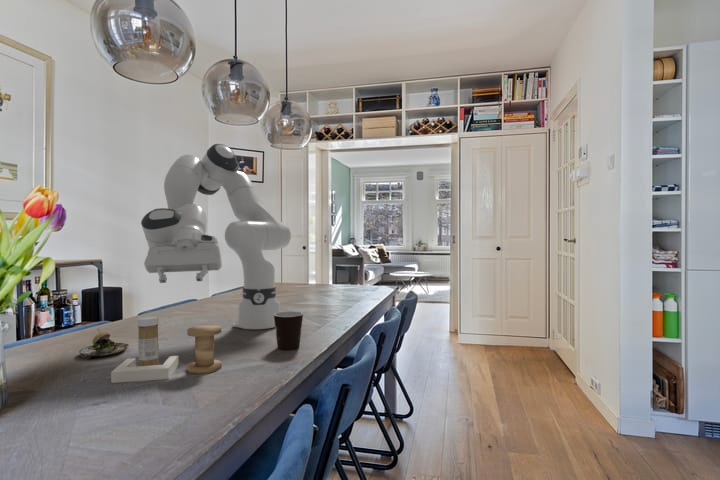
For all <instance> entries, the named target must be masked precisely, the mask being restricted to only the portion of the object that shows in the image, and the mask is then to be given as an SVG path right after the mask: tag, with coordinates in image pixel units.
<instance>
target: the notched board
mask: <svg viewBox="0 0 720 480" xmlns="http://www.w3.org/2000/svg"><path fill="white" fill-rule="evenodd" d="M178 367H179V355H170V356H169V357H168V358H167V359H166V360H165V362H164V363H163V364H158V365H152V366H139V365H137V358H135V357H133V358H126V359H125V360H124V361H123V362H121V363H120V364H119V365H118V366H116V368H114V369H113V370H112V371H111V372H110V375H111V376H110V379H111V380H110V381H111V382H110V383H111V384H118V383H131V382H133V383H134V382H145V381H146V382H147V381H157V380H159V381H160V380H169V379H170V378H171V376H172V375H173V373H174V372H176V369H177V368H178Z"/></svg>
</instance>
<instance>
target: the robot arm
mask: <svg viewBox="0 0 720 480" xmlns="http://www.w3.org/2000/svg"><path fill="white" fill-rule="evenodd" d="M239 165H240V163H239V162H238V159H237V157H236V155H235V153H234V151H233V150H232V149H231V148H230V147H229V146H227V145H225V144H221V143H215V144H213V145H210V147H209V148H208V149H207V150H206V153H205V155H203V157H202V159H201V160H200V159H199V158H198V157H197V156H195V155H194V154H193V155H192V154H183V155H181V156H179V158H177V159H176V160H175V161H174V163H172V165H171V166H170V168H169V169H168V171H167V173H166V174H165V178H164V184H163V189H164V196H165V199H166V203H167V207H166V208H163V207H162V208H155V209H153V210H151V211H149V212H147V213H146V214H145V215H144V216H143V218H142V219H141V222H140V223H141V226H142V231H143V232H144V233H143V234H144V237H145V240H146V242H147V245H148V251H147V255H146V257H145V260H144V268H145V270H146V271H147V272H148V273H149V274H153V273H154V274H158V276H159V277H158V280H159V283H160V284H164V283H165V284H166V283H167V280H168V277H167V274H165V273H181V272H182V273H183V272H184V273H185V272H196V275H195V279H196V282H203V280H204V279H203V278H204V277H205V276H206V275H207V274H208V272H210V271H219V270H220V269H221V268H222V265H223V264H222V254H221V249H220V246H219V241H218V239H217V237H216V236H214V235H210V234H206V231H207V223H208V222H207V221H208V219H207V213H206V212H205V210H204V209H203V208H202V207H201V206H200V205H198V204H196V203H194V202H195V198H196V195H197V192H198V193H200V194H203V195H205V196H206V195H207V196H213V195H215V194H216V193H217V192H219V191H220V190H221V187H222V188H223V189H224V190H225V193H226V196H227V199H228V202H229V204H230V207H231V209H232V212H233V214H234V216H235V217H236V219H237V221H233V222H230V223H229V224H228V225H227V227H226V228H225V231H224V240H225V242H226V244H227V246H228V247H229V248H230V249H231V250H233V251H234V252H235V254H236V255H237V257H238V258H239V260H240V262H241V264H242V270H243V288H242V292H241V293H242V300H241V302H239V303H238V313H237V315H238V316H237V317H238V318H237V320H236V321H235V322H234V323H233V324H232V327H234V328H240V329H243V330H266V329H272V328H275V321H274V314H275V313H278V312H281V309H280V307H281V304H280V301H279V300H277V298H276V296H277V289H276V288H277V287H276V286H275V279H276V278H275V266H274V265H273V263H271V262H270V261H269V260H266V259H265V257H264V255H263V251H275V250H280V249H283V248H286V247H287V246H288V245H289V243H290V241H291V239H292V238H291V237H292V232H291V230H290V227H289V226H288V224H286V223H284V222H282V221H280V220H279V219H278V218H276V217H275V216H274V215H272V213H271V212H270V211H268V209H266V207H265V206H264V205H263V202H262V200H261V199H260V196H259V193H258V192H257V189H256V188H255V186H254V183H253V182H252V181H251V179H250V178H249V176H248V175H247V174H246V173H245V172H243V171H240V170H239V167H240V166H239Z"/></svg>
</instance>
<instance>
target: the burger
mask: <svg viewBox="0 0 720 480" xmlns="http://www.w3.org/2000/svg"><path fill="white" fill-rule="evenodd" d="M97 331H98V334H96V335H95V336H94V338H93V339H92V345H89V346H85V347H84V348H81V349H80V350H79V351H78V353H79V354H80V355H78V358H79V359H80V360H86V361H87V360H89V361H90V360H91V358H92V357H103V356H104V357H105V356H111V355H114V354H117V353H121V352H122V351H124V350H127V349H128V347H130V345H129V344H128V343H125V342H115V341H113V340H111V338H110V336H111V334H110V333H109V332H100V331H99V329H97Z"/></svg>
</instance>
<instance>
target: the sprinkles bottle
mask: <svg viewBox="0 0 720 480" xmlns="http://www.w3.org/2000/svg"><path fill="white" fill-rule="evenodd" d="M159 319H160V317H159V316H158V315H144V316H141V317H138V318H137V326H138V338H137V339H138V341H137V343H138V344H137V345H138V350H137V353H138V355H137V356H138V359H137V360H138V366H152V365H159V356H160V354H159V353H160V352H159V351H160V349H159V323H160V321H159Z"/></svg>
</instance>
